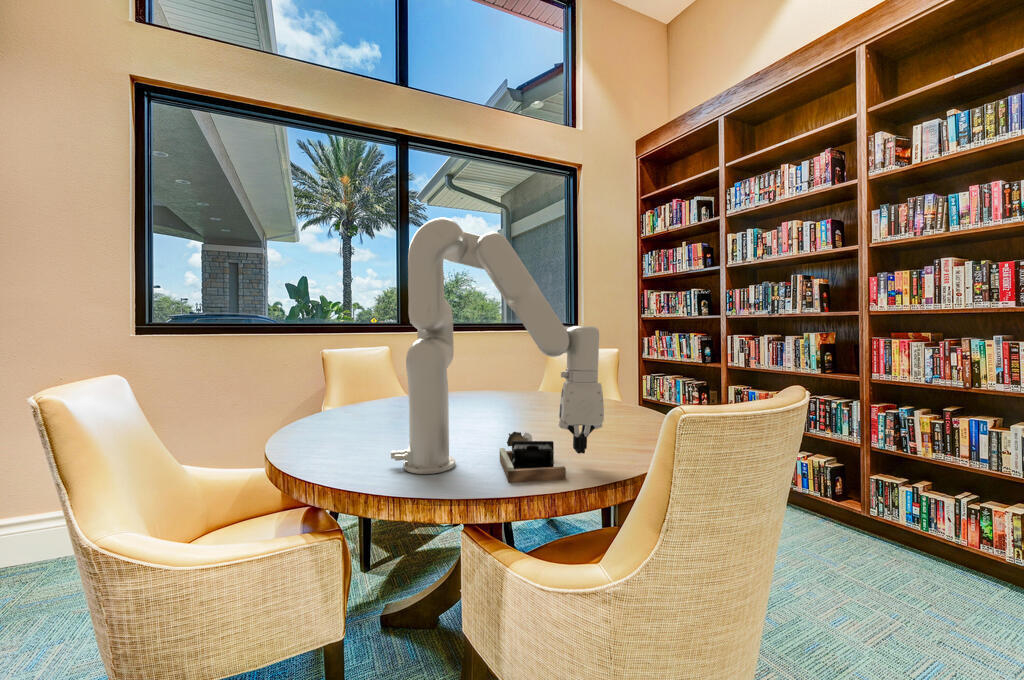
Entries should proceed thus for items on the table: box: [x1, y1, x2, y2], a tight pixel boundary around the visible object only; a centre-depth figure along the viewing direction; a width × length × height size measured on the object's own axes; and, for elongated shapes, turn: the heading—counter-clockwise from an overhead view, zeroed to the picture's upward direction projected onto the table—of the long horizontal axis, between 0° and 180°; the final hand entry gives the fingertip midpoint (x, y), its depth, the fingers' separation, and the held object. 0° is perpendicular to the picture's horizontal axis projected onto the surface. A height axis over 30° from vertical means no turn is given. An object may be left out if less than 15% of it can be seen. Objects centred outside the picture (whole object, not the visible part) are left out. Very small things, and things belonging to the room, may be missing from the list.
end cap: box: [511, 440, 555, 469], centre depth 106 cm, size 10×7×7 cm
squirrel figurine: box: [506, 431, 533, 447], centre depth 118 cm, size 8×7×9 cm
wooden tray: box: [499, 447, 567, 483], centre depth 106 cm, size 13×15×3 cm
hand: (579, 451), depth 108 cm, fingers closed
